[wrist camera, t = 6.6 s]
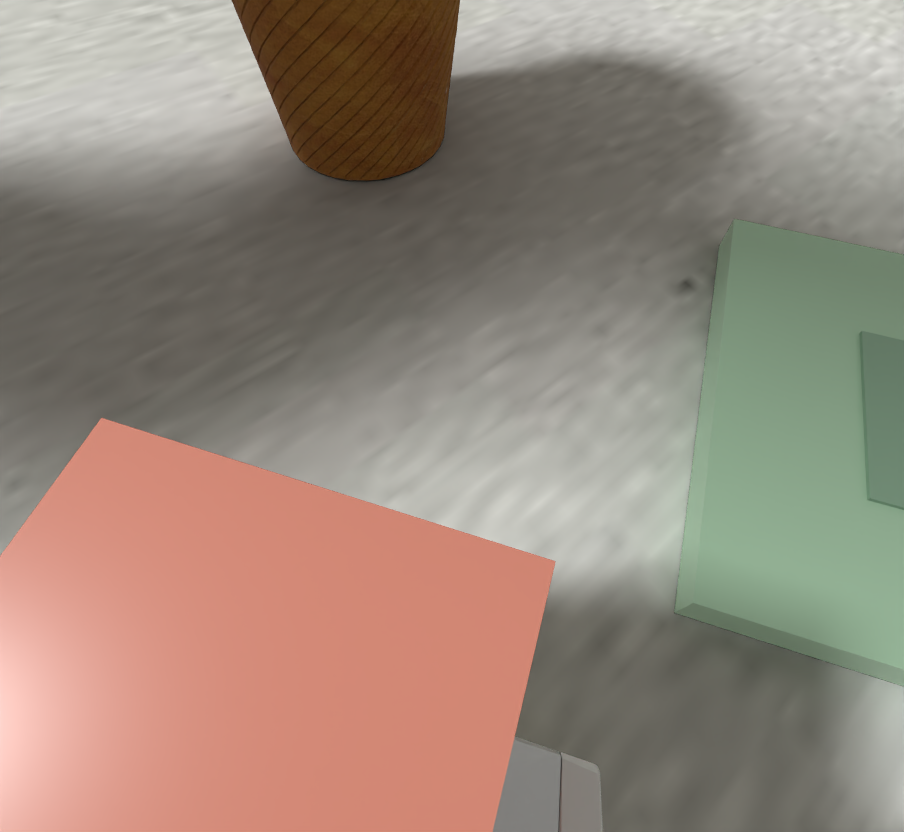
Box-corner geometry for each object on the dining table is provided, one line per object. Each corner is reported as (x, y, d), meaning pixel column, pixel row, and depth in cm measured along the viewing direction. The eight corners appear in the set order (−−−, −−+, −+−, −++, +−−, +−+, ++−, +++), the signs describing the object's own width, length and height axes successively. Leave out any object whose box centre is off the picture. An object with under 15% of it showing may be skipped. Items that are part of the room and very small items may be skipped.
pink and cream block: (199, 830, 11) (-362, 1049, 3) (302, 598, 14) (101, 417, 6) (421, 925, 11) (343, 1477, 3) (490, 664, 13) (555, 560, 5)
